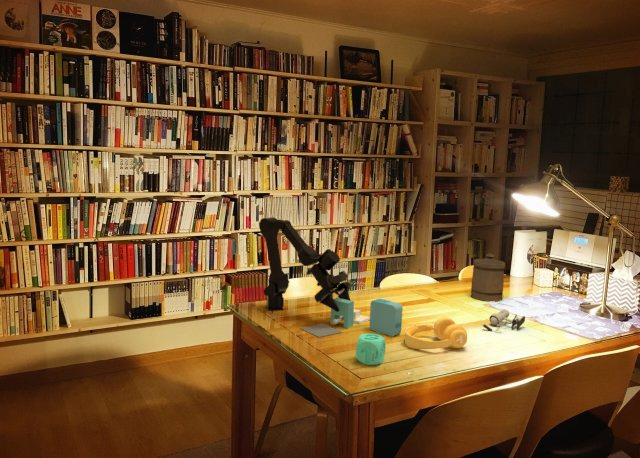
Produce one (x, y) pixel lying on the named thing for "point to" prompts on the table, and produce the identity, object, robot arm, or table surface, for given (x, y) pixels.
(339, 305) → the teal arch block
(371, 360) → the decorative dice
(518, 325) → the clip-on lamp
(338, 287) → the robot arm
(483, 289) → the wooden container
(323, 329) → the grey mat
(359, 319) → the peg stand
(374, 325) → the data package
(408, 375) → the table surface
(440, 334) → the headset
